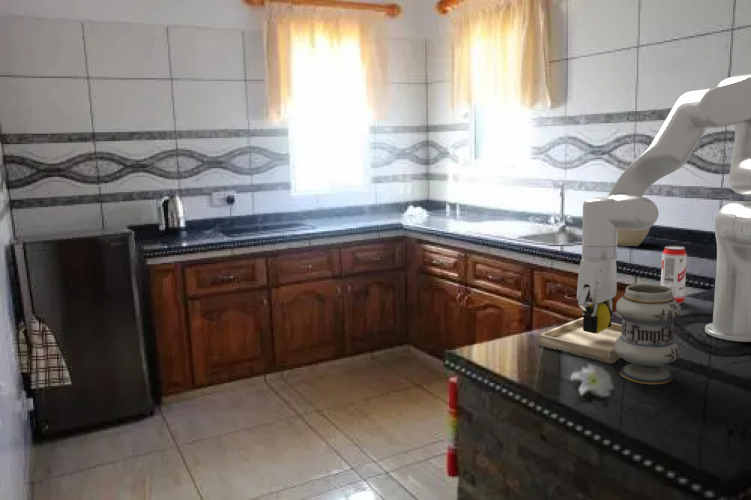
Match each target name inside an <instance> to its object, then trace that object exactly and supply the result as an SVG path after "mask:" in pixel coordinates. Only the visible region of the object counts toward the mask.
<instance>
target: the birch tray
mask: <svg viewBox="0 0 751 500" xmlns="http://www.w3.org/2000/svg"><path fill="white" fill-rule="evenodd" d="M621 333H622V323H621V324H620V323H616V322H615V323H614V322H611V327H607V328H606V329H605V330H603V331H600V332H599V333H598V334H596V333H590V332H586V331H584V330H583V316H582V317H580V318H576V319H574V320H572V321H570V322H569V321H568V322H567V323H564V324H562V325H560V326H557V327H554V328H552V329H549V330H547V331H544V332H542V333H539V334H538V335H537V346H541V347H544V348H549V349H552V348H553V350H556V349H559V350H563V351H568V352H571V353H574V354H573V355H575V354H577V355H576V356H579V355H580V356H579V357H582V356H585V357H584V358H586V357H589V358H588V359H590V358H592V359H591V360H594V359H597V360H596V361H598V360H600V361H599V362H602V361H603V363H605V362H606V363H605V364H609V363H610V364H613V363H616V362H617V361H619V360H621V359H622V358H621V357H620V356H619V355H618V354H617V352H616V351H615V347H614V345H615V342H616V340H617V339H618V338H619V337H620V336H621ZM559 350H558V351H559ZM563 351H562V352H563ZM571 353H570V354H571ZM620 358H621V359H620ZM618 359H619V360H618ZM616 360H617V361H616Z"/></svg>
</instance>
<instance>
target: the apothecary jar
mask: <svg viewBox="0 0 751 500" xmlns="http://www.w3.org/2000/svg"><path fill="white" fill-rule="evenodd" d="M624 291H625V292H624V293H623V296H621V297H620V298H619V299H618V300H617V301H616V303H615V309H616V312H617V313H618V314H619V315H620V316H621V325H622V333H621V336H620V337H619V338H618V339H617V340H616V342H615V345H614V347H615V351H616V352H617V354H618V355H619V356H620V357H621V359H622V360H624V361H626V362H629V364H626V365H624V366H622V367H620V370H619V375H620V376H621V377H622V378H624V379H625V380H627V381H628V380H629V381H631V382H634V383H639V384H642V385H643V384H644V385H663V384H667V383H669V382H672V380H673V378H674V377H673V374H672V373H671V372H670V371H669V370H668V369H665V368H663V367H661V366H665V365H669V364H672V363H673V362H675V361H677V360H678V358H680V355H681V347H680V345H679V343H678V342H677V341H676V340H675V339H674V337H675V334H674V333H675V332H674V331H675V330H674V328H675V326H674V325H675V320H676V319H677V318H678V317H680V315H681V314H682V306H681V304H679V303H678V302H677V301H676V300H675V299H674V298H673V295H672V289H671V288H669V287H665V286H661V284H660V285H658V284H649V283H641V284H640V283H639V284H630V285H627V286H626V287H625V290H624Z"/></svg>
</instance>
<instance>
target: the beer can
mask: <svg viewBox="0 0 751 500" xmlns="http://www.w3.org/2000/svg"><path fill="white" fill-rule="evenodd" d="M685 249H686V248H685V246H680V245H667V246H664V250H663V251H662V253H661V271H660V272H661V273H660V274H661V275H660V285H661V286H665V287H669V288H671V289H672V295H673V298H674V299H675V300H676V301H677V302H678V303H679V304H680V305H681V304H682V303H684V301H685V297H686V296H685V293H686V292H685V291H686V290H685V289H686V275H687V260H688V259H687V256H688V254H687V252H686V250H685Z"/></svg>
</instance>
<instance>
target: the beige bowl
mask: <svg viewBox="0 0 751 500" xmlns="http://www.w3.org/2000/svg"><path fill="white" fill-rule="evenodd" d="M650 229H651V227H649V228H647V229H644V230H628V229H618V237H617V246H619V245H620V246H619V247H624V246H635V247H639V246H640V245H641V244H642V242H643V241H644V240H645V239H646V238H647V236H648V234H649V232H650Z"/></svg>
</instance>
